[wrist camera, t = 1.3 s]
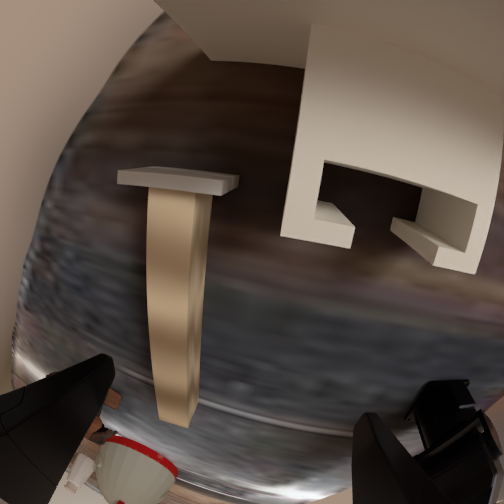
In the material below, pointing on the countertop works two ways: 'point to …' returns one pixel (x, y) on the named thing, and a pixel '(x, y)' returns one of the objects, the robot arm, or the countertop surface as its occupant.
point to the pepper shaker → (79, 472)
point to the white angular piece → (380, 105)
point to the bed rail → (177, 277)
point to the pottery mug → (97, 428)
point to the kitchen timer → (132, 472)
